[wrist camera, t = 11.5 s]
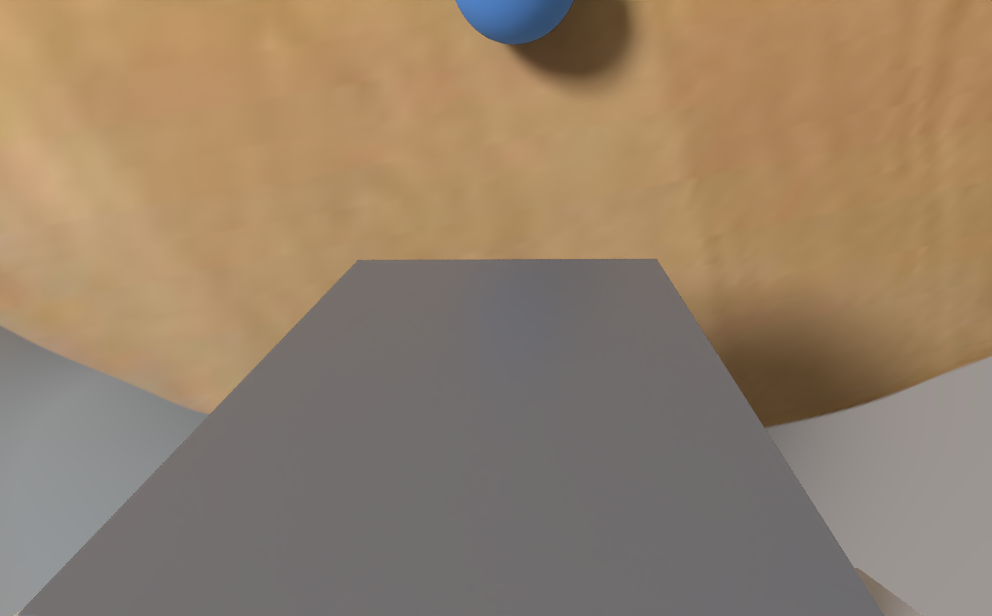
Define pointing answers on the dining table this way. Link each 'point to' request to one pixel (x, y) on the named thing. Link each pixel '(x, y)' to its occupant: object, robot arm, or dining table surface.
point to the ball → (514, 18)
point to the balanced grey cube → (474, 466)
